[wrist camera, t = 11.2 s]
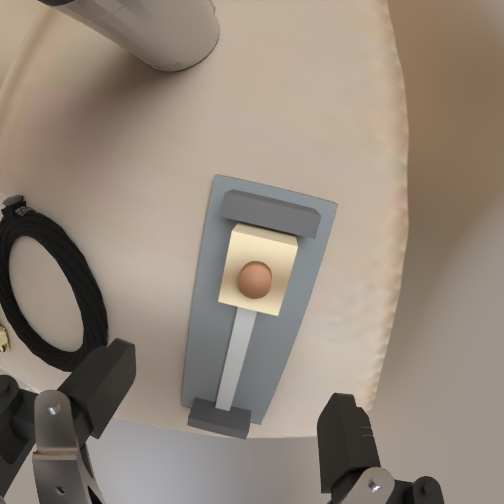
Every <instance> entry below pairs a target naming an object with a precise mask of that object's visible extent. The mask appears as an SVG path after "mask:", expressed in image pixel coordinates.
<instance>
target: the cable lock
mask: <svg viewBox="0 0 504 504" xmlns="http://www.w3.org/2000/svg"><path fill="white" fill-rule="evenodd" d="M22 198H23V196H21V195H16V196H12V197H9V198H7V199H6V200H5V201H4V202H3V204H4V205H5V206H6V207H5V208H4V209H2V210H1V211H2V214H3V217H2V219H1V220H2V221H0V304H1V306H2V309H3V311H4V313H5V316H6V318H7V320H8V322H9V323H10V324H11V326H12V328H13V329H14V331H15V333H16V334H17V336H18V337H19V338H20V339H21V340H22V341H23V342H24V343H25V345H26V346H27V347H28V348H29V349H30V351H31V352H32V353H33V354H34V355H36V356H38V357H39V358H41V359H42V360H43V361H44V362H46V363H47V364H49V365H51V366H53V367H55V368H57V369H60V370H62V371H65V372H73V371H74V370H75V369H76V368H77V367H78V366H79V365H80V363H81V362H82V361H83V360H85V358H86V357H87V355H88V354H89V353H90V352H91V351H92V350H94V349H96V348H98V347H100V346H102V345H104V346H106V331H107V319H106V311H105V309H104V307H103V304H102V298H101V293H100V291H99V289H98V287H97V285H96V283H95V281H94V278H93V276H92V274H91V272H90V270H89V268H88V266H87V263H86V261H85V258H84V256H83V255H82V254H81V252H80V251H79V249H78V248H77V247H76V246H75V244H74V243H73V242H72V241H71V240H70V239H69V238H68V236H67V235H66V233H65V232H64V231H63V229H62V228H61V227H60V226H59V225H57V224H56V223H55V222H53V221H52V220H50V219H49V218H47V217H45V216H44V215H42V214H40V213H36V211H35V210H33V209H32V208H29V207H27V206H26V201H23V202H21V200H22ZM19 236H29V237H32V238H34V239H35V240H37V241H38V242H39V243H40V244H41V245H43V246H44V247H45V249H46V250H47V251H48V252H49V253H50V254H51V255H52V256H53V257H54V258H55V259H56V261H57V263H58V264H59V266H60V268H61V269H62V271H63V273H64V274H65V276H66V278H67V279H68V281H69V283H70V285H71V287H72V290H73V292H74V295H75V297H76V300H77V303H78V306H79V309H80V311H81V316H82V322H83V328H84V334H83V344H82V346H81V347H80V349H78V350H77V351H75V352H65V351H61V350H59V349H57V348H55V347H53V346H51V345H49V344H48V343H46V342H45V341H44V340H43V339H42V338H41V337H40V336H39V335H38V334H37V333H36V332H35V331H33V330H32V328H31V327H30V326H29V324H28V322H27V321H26V319H25V318H24V317H23V315H22V314H21V312H20V310H19V307H18V305H17V302H16V300H15V298H14V296H13V293H12V291H11V286H10V280H9V274H8V268H7V263H8V257H9V250H10V247H11V244H12V243H13V241H14V240H15V239H16V238H18V237H19Z"/></svg>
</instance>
